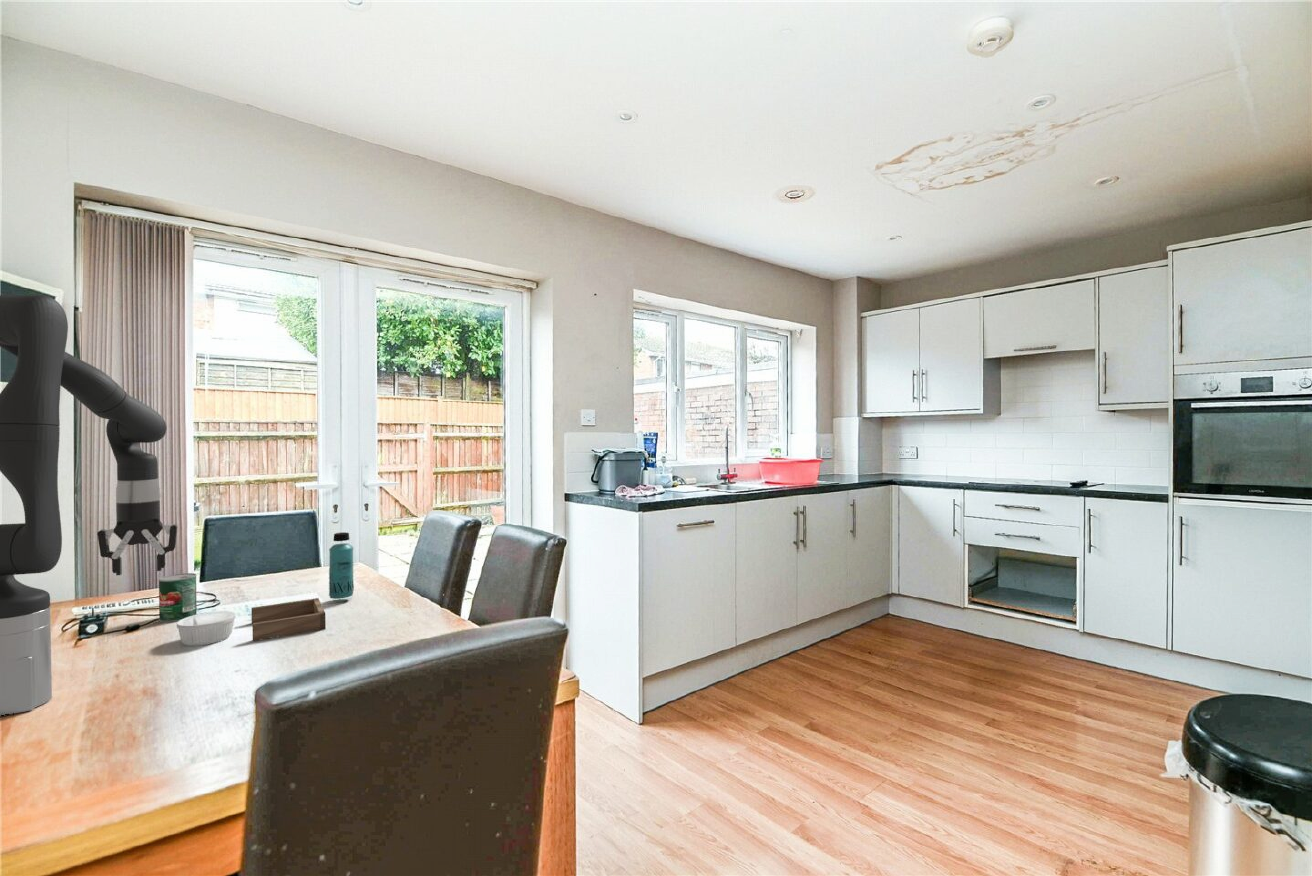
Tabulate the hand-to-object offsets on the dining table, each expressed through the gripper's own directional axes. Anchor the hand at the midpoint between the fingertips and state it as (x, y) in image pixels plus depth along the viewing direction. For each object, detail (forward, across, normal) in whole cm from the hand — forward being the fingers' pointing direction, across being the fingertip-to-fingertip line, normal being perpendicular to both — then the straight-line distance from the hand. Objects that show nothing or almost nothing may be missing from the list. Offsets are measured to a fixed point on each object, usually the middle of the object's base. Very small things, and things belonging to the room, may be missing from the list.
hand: (139, 572), depth 136 cm
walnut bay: (+18, +28, 0) cm, 33 cm away
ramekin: (+18, +12, 0) cm, 22 cm away
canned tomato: (+18, +5, +25) cm, 31 cm away
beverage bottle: (+18, +43, +17) cm, 50 cm away
